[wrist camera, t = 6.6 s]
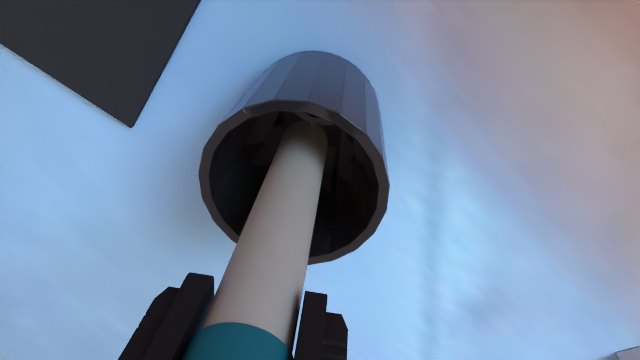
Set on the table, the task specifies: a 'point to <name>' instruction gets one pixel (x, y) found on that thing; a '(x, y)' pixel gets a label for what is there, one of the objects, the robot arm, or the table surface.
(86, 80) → the desk mat
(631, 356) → the red-lidded white box
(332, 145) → the pen holder
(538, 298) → the table surface
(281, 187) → the marker
